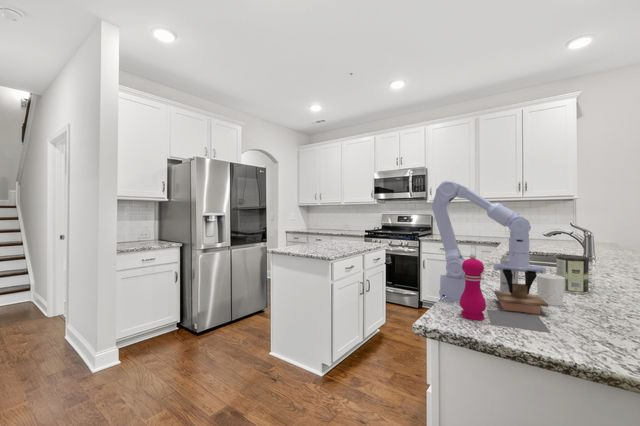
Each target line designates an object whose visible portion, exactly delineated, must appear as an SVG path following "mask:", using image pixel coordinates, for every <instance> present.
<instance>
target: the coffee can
mask: <svg viewBox="0 0 640 426" xmlns="http://www.w3.org/2000/svg"><path fill="white" fill-rule="evenodd" d="M555 257H556V275H558V276H562V277H565V285H564V293H568V294H575V295H576V294H577V295H588V294H589V293H590V292H589V262H590V261H589V260H590V257H588V256H583V255H576V254H557V255H555Z"/></svg>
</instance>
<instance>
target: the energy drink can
mask: <svg viewBox="0 0 640 426" xmlns="http://www.w3.org/2000/svg"><path fill="white" fill-rule="evenodd" d="M499 262H500V263H499V264H509V254H502V256H501V258H500V260H499ZM517 270H518V269H517ZM499 271H500V273H499V276H500V278H499V291H501V292H509V287H508V283H507V280H506V278H505V275H504V273H503V271H502V270H499ZM511 272H512V274H513V278H512V283H513V284H519V271H511Z"/></svg>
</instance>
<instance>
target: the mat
mask: <svg viewBox="0 0 640 426" xmlns="http://www.w3.org/2000/svg"><path fill="white" fill-rule="evenodd" d="M486 312H487V316H488V320H489V323H490V325H491V326H497V327H504V328H505V327H506V328H511V329H520V330H524V331H525V330H526V331H532V332H533V331H534V332H539V333H540V332H541V333H547V334H552V333H551V331H550V329H549V328H548V327H547V326H546V324H545V323H544V321H543V320H542V319H541V317H540V316H539V315H538V314H537V315H535V314H530V313H521V312H511V311H510V312H509V311H505V310H504V311H501V310H496V309H489V308H488V309H487V308H486Z"/></svg>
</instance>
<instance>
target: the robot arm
mask: <svg viewBox="0 0 640 426" xmlns="http://www.w3.org/2000/svg"><path fill="white" fill-rule="evenodd" d="M455 198H458V199H459V198H460V199H466V200H468V201H469V202H471V203H473V204H475V205H477V206H478V207H480V208H481V209H484V210H485V211H486V214H487V217H488V218H489V219H492V220H494V221H495V222H496V223H498V224H500V225H501V226H503V227H505V228H506V227H507V228H508V229H509V238H508V255H509V264H500V263H493V270H494V271H500V270H502V271H503V273H504V275H505V278H506V280H507V283H508V287H509V292H510V293H512V278H513V274H512V272H511V271H518V272H523V273H524V282H525V283H524V284H525V285H526V286H527V294H530V289H531V286H532V285H533V282H534V281H535V280H536V279H537V274H547V268H546V266H538V265H530V233H529V232H530V230H531V228H532V227H531V223H530V221H529V220H528V219H526V218H525V217H524V216H521V215H520V213H519V212H514V211H513V210H512V209H510V208H508V206H507V204H505V203H500V202H495V203H493V202H491V201H489V200H487V199H486V198H484V197H483V196H481V195H480V194H478V193H476V192H475V191H474V190H472V189H471V188H469V187H466V186H464V185H462V184H459V183H456V182H455V181H453V180H451V179H450V180H448V179H447V180H444V181H442V182H441V183H440V184H439V185H438V186H437V188H436V189H435V194H434V198H433V200H432V204H431V208H432V212H433V216H434V219H435V221H436V226H437V229H438V232H439V236H440V238H441V239H440V240H441V243H442V246H443V249H444V252H445V260H446V264H445V271H446V273H445V274H440V279H439V291H438V293H439V300H440V301H446V302H447V301H449V302H455V303H456V302H457V303H460V298H461V296H462V294H463V291H464V289H465V279H464V274H465V272H464V271H463V269H462V264H463V262H464V261H465V260H466V259H465V258H464V257H463V254H462V253H461V250H460V249H459V245H458V242H457V239H456V236H455V232H454V229H453V226H452V223H451V219H450V216H449V213H448V209H447V208H448V207H449V205H450V203H451V202H452V201H453V200H454V199H455ZM517 269H518V270H517ZM445 296H446V297H445ZM443 297H444V298H443ZM442 298H443V299H442Z"/></svg>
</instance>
